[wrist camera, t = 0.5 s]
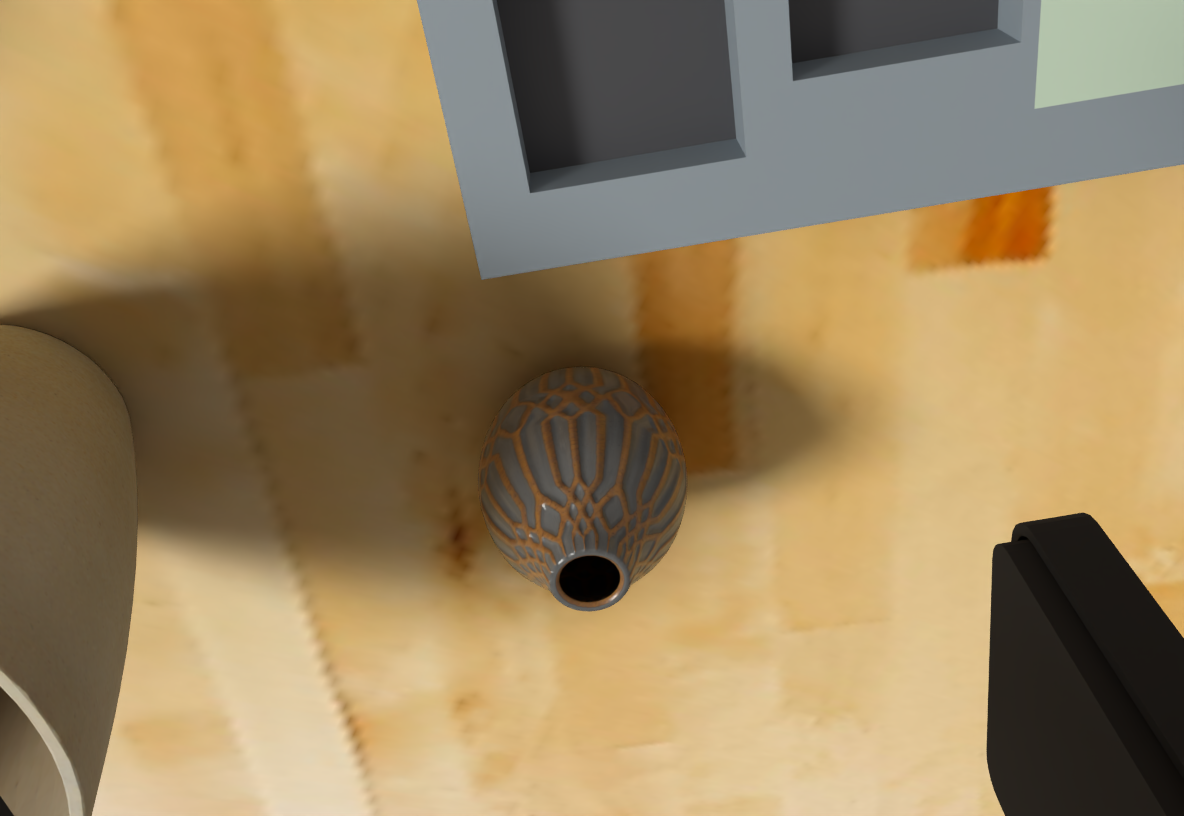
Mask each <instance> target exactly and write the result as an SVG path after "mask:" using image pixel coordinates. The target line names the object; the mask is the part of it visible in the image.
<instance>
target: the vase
mask: <svg viewBox="0 0 1184 816" xmlns="http://www.w3.org/2000/svg"><path fill="white" fill-rule="evenodd" d="M478 492H479V499H480V505H481V510H482V513H483V516H484V520H485V523H486V526H487V528H488V530H489V532H490V535H491V537H492V539H493V541H494V543H495V544H496V546H497V548H498V549H499V551H500V552H501V554H502V555H503V556H504V558H505V559H506V560H507V561H508V563H509V564H510V565H511V566H512V567H513V568H514V569H515V570H517V571H518V572H519V573H520V574H521V575H523V576H524V577H525V578H527V579H528V580H530V581H531V582H533V583H535V584H537V585H539V586H540V587H543V588H545V589H547V590H549V591H550V592H551V593H552V594H553V596H554V597H555V598H556V599H557V600H558V601H559V602H561V603H562V604H563V605H565V606H567V607H569V608H572V609H575V610H580V611H597V610H602V609H605V608H608V607H610V606H612V605H614V604H615V603H617V602H618V601H619V600H620V599H621V598H622V597H623V596H624V595H625V594H626V592H627V591H628V589H629V587H630V585H631V584H633V583H635V582H636V581H638V580H639V579H641V578H642V577H643V576H645V575H646V574H647V573H648V572H649V571H651V570H652V569H653V568H654V567H655V566H656V565H657V564H658V563H659V561H660V560H661V559H662V558H663V557H664V555H665V554H666V553H667V551H668V550H669V548H670V546H671V544H672V543H673V541H674V539H675V537H676V534H677V532H678V529H679V527H680V524H681V521H682V517H683V514H684V509H685V504H686V498H687V470H686V463H685V458H684V454H683V450H682V447H681V443H680V440H679V438H678V435H677V433H676V430H675V428H674V426H673V424H672V422H671V420H670V419H669V417H668V416H667V414H666V413H665V411H664V410H663V408H662V407H661V406H660V405H659V403H658V402H657V401H656V400H655V399H654V398H653V397H652V396H651V395H650V394H649V393H648V392H647V391H646V390H644V389H643V388H642V387H641V386H639V385H638V384H636V383H635V382H633V381H631V380H629V379H628V378H626V377H624V376H622V375H620V374H617V373H615V372H612V371H608V370H605V369H600V368H594V367H570V368H563V369H558V370H555V371H551V372H548V373H546V374H543V375H541V376H539V377H537V378H535V379H533V380H532V381H530V382H528V383H527V384H526V385H524V386H523V387H522V388H520V389H519V390H518V391H517V392H515V393H514V394H513V395H512V396H511V397H510V398H509V399H508V401H507V402H506V403H505V404H504V405H503V407H502V408H501V409H500V411H499V412H498V414H497V415H496V417H495V418H494V420H493V422H492V424H491V426H490V428H489V430H488V432H487V435H486V437H485V440H484V444H483V448H482V452H481V457H480V464H479V473H478Z"/></svg>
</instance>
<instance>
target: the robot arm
mask: <svg viewBox="0 0 1184 816" xmlns="http://www.w3.org/2000/svg"><path fill="white" fill-rule="evenodd" d="M987 763H988V769H989V773H990V778H991V781H992V785H993V788H994V791H995V793H996V796H997V798H998V801H999V803H1000V805H1001V807H1002V810H1003V812H1004V814H1005V816H1184V638H1183V637H1182V635H1181V634H1180V633H1179V631H1178V630H1177V629H1176V627H1175V626H1174V625H1173V623H1172V622H1171V621H1170V619H1169V618H1168V617H1167V615H1166V614H1165V613H1164V611H1163V610H1162V609H1161V607H1160V606H1159V605H1158V603H1157V602H1156V601H1155V599H1154V598H1153V596H1152V595H1151V594H1150V592H1149V591H1148V590H1147V588H1146V587H1145V586H1144V584H1143V583H1142V582H1141V580H1140V579H1139V578H1138V576H1137V575H1136V574H1135V572H1134V571H1133V570H1132V568H1131V567H1130V566H1129V564H1128V563H1127V562H1126V560H1125V559H1124V558H1123V556H1122V555H1121V554H1120V552H1119V551H1118V550H1117V548H1116V547H1115V545H1114V544H1113V543H1112V541H1111V540H1110V539H1109V537H1108V536H1107V535H1106V533H1105V532H1104V531H1103V529H1102V528H1101V527H1100V525H1099V524H1098V523H1097V522H1096V521H1095V520H1094V519H1093V518H1092V516H1091V515H1088V514H1086V513H1078V514H1072V515H1066V516H1060V517H1054V518H1048V519H1042V520H1036V521H1029V522H1023V523H1019V524H1017V525H1016V526H1015V528H1014V530H1013V533H1012V540H1011V542H1008V543H1002V544H997V545H996V546H995V548H994V550H993V558H992V591H991V624H990V656H989V689H988V722H987ZM0 816H14V815H13V813H12V812H11V811H10V809H9V808H8V806H7V805H6V803H5V802H4V800H3V799H2V798H1V796H0Z"/></svg>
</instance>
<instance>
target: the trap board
mask: <svg viewBox="0 0 1184 816" xmlns="http://www.w3.org/2000/svg"><path fill="white" fill-rule="evenodd" d="M417 3H418V7H419V11H420V16H421V20H422V24H423V29H424V33H425V37H426V42H427V46H428V50H429V55H430V59H431V63H432V68H433V72H434V76H435V81H436V85H437V89H438V94H439V98H440V102H441V107H442V111H443V115H444V119H445V124H446V128H447V132H448V137H449V141H450V145H451V150H452V154H453V158H454V163H455V167H456V171H457V176H458V180H459V184H460V189H461V193H462V197H463V202H464V206H465V210H466V215H467V219H468V223H469V228H470V232H471V236H472V241H473V245H474V249H475V254H476V258H477V262H478V267H479V271H480V275H481V280H483V279H489V278H495V277H501V276H508V275H514V274H520V273H526V272H532V271H538V270H544V269H550V268H556V267H562V266H568V265H574V264H580V263H587V262H593V261H599V260H605V259H611V258H617V257H623V256H629V255H635V254H641V253H647V252H653V251H660V250H666V249H672V248H678V247H684V246H690V245H696V244H702V243H708V242H714V241H720V240H726V239H732V238H739V237H745V236H751V235H757V234H763V233H769V232H775V231H781V230H787V229H793V228H799V227H805V226H811V225H818V224H824V223H830V222H836V221H842V220H848V219H854V218H860V217H866V216H872V215H878V214H884V213H891V212H897V211H903V210H909V209H915V208H921V207H927V206H933V205H939V204H945V203H951V202H957V201H963V200H970V199H976V198H982V197H988V196H994V195H1000V194H1006V193H1012V192H1018V191H1024V190H1030V189H1036V188H1043V187H1049V186H1055V185H1061V184H1067V183H1073V182H1079V181H1085V180H1091V179H1097V178H1103V177H1109V176H1115V175H1122V174H1128V173H1134V172H1140V171H1146V170H1152V169H1158V168H1164V167H1170V166H1176V165H1182V164H1184V0H417Z"/></svg>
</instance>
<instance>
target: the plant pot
mask: <svg viewBox="0 0 1184 816" xmlns="http://www.w3.org/2000/svg"><path fill="white" fill-rule="evenodd" d="M137 528H138V497H137V477H136V462H135V452H134V442H133V435H132V428H131V423H130V417H129V414H128V411H127V408H126V405H125V403H124V401H123V398H122V396H121V395H120V393H119V391H118V390H117V388H116V387H115V385H114V384H113V383H112V381H111V380H110V379H109V377H108V376H107V375H106V374H105V373H104V372H103V371H102V370H101V369H100V368H99V367H98V365H97V364H96V363H94V362H93V361H92V360H91V359H89V358H88V357H87V356H85V355H84V354H82V353H81V352H79V351H78V350H76V349H75V348H73V347H72V346H70V345H68V344H67V343H65V342H63V341H61V340H59V339H57V338H54V337H52V336H50V335H47V334H44V333H41V332H38V331H35V330H31V329H27V328H23V327H18V326H12V325H0V796H1V798H2V799H3V800H4V802H5V803H6V805H7V806H8V808H9V809H10V811H11V812H12V813H13V815H14V816H92V811H93V807H94V803H95V799H96V795H97V790H98V786H99V782H100V778H101V774H102V770H103V765H104V761H105V757H106V753H107V748H108V744H109V739H110V735H111V731H112V726H113V722H114V718H115V712H116V707H117V702H118V697H119V692H120V686H121V681H122V675H123V669H124V664H125V658H126V652H127V645H128V637H129V629H130V621H131V613H132V605H133V594H134V583H135V571H136V555H137Z"/></svg>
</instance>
